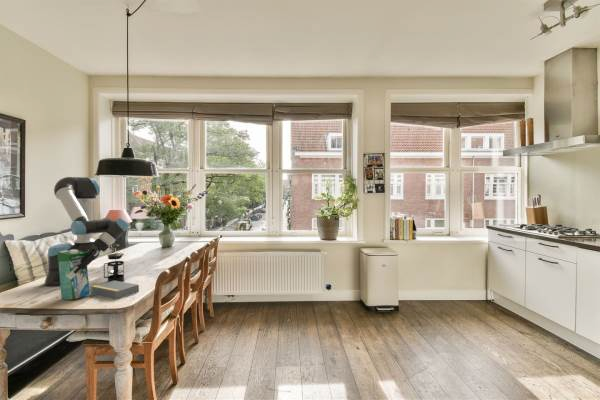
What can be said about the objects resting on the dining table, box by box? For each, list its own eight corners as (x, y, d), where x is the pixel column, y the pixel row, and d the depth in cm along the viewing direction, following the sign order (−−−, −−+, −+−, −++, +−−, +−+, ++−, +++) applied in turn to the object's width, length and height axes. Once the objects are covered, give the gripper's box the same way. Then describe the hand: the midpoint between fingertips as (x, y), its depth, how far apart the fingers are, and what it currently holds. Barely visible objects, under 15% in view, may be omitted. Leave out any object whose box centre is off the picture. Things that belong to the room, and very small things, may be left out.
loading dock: (91, 294, 182) (90, 286, 182) (114, 287, 194) (114, 279, 194) (116, 299, 174) (116, 291, 174) (138, 291, 186) (138, 284, 186)
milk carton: (73, 299, 170) (68, 251, 170) (61, 299, 173) (57, 251, 173) (89, 294, 178) (85, 248, 178) (78, 294, 181) (74, 248, 182)
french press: (126, 278, 212) (126, 243, 212) (124, 282, 204) (124, 245, 203) (105, 280, 208) (104, 244, 207) (102, 284, 199) (102, 246, 198)
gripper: (113, 247, 178) (77, 284, 166) (104, 245, 189) (70, 279, 177) (102, 238, 175) (65, 275, 162) (94, 236, 185) (58, 271, 173)
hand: (67, 277), depth 170 cm, fingers closed on milk carton, 2 cm apart
